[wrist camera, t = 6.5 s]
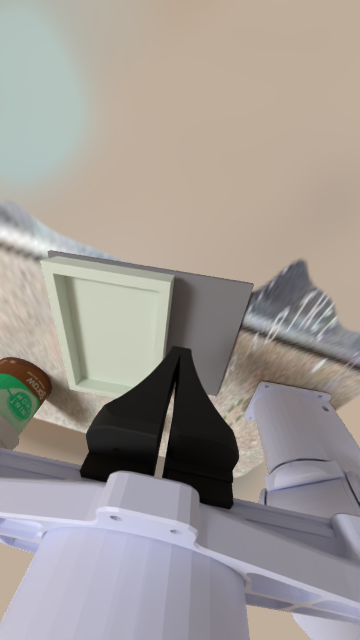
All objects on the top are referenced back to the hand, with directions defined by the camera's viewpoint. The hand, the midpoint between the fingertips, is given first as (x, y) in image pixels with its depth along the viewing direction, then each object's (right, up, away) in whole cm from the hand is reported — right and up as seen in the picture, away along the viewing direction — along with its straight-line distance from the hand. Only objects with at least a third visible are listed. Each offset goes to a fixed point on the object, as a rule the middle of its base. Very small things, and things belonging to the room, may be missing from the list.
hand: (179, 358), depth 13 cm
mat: (-4, +1, +11) cm, 12 cm away
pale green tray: (-7, +1, +11) cm, 13 cm away
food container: (-24, -6, +18) cm, 30 cm away
